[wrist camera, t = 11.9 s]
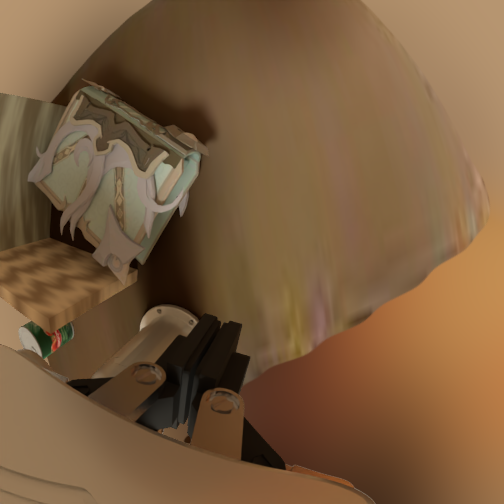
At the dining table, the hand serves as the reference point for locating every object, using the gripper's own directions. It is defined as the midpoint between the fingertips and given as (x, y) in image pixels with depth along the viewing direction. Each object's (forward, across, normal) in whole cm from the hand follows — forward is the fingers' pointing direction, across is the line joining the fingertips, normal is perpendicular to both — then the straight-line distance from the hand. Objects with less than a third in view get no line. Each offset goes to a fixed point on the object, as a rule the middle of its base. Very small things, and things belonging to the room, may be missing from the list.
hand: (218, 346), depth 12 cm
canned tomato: (+27, +40, +29) cm, 56 cm away
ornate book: (+28, +27, -5) cm, 39 cm away
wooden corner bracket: (+27, +32, -2) cm, 42 cm away
